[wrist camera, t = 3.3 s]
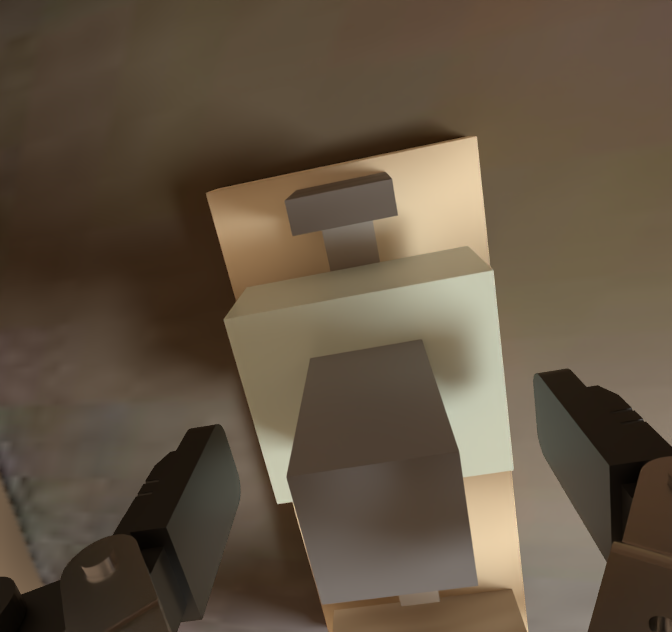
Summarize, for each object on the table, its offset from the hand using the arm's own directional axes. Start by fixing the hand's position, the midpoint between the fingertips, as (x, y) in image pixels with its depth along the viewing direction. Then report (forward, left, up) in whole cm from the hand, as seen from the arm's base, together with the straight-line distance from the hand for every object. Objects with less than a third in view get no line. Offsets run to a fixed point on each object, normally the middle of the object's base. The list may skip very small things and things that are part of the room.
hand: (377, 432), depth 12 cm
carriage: (0, 0, -5) cm, 5 cm away
